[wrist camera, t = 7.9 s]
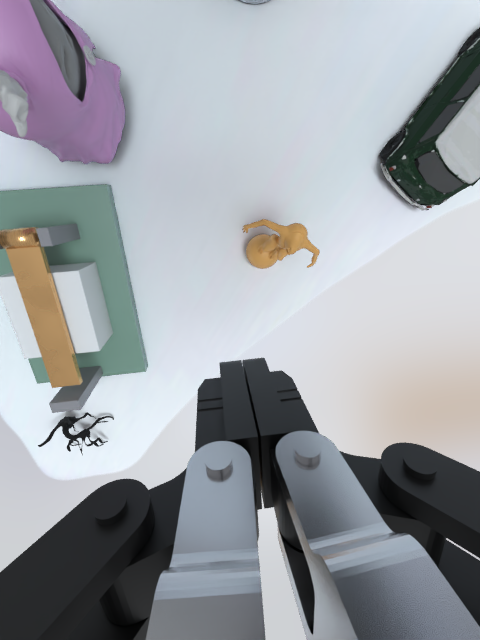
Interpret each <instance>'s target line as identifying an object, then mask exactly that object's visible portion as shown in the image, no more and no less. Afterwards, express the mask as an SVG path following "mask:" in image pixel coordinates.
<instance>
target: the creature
mask: <svg viewBox="0 0 480 640" xmlns="http://www.w3.org/2000/svg"><path fill="white" fill-rule="evenodd" d="M87 415H89V416H91V415H90V414H89V413H86V414H85V415H84V416H83V417H81V418H75V417H64V418H63V419H62V420H60V422H59V423H58V424H57V426H56V427H55V428H54V429H53V430H52V432H51V433H50V435H49V437H48V438H47V439H46V440H45V441H44V442H43V443H42V444H41V445H38V446H39V447H41V446H43V445H45V444H46V443H47V442H49V441H50V440H51V438H52V436H53V434H54V432H55V431H56V430H57V429H58V428H59V427H60V426H62V427H63V429H62V431H63V434H64V435H65V437H67V438H68V439H71V440H69V443H68V445H67V449H68V451H71V450H70V446H69V445H71V443H73V441H77V442H78V445H80V444H79V441H78V440H76V439H77V438H82V444H83V440H84V442H85V438H86V437H88V438H89V437H90V431H89V429H91V428H93V427H94V426H95V425H96V424H97V423H100V422H98V421H100V420H102V419H104V418H107V417H110V418H113V417H111V416H105V417H102V418H98V419H97V420H96V421H95V423H93V424H92V426H91V427H89V428H88V429H84V430H83V431H81V432H80V433H78V434H77V435H71V434H70V433H69V428H71V427H72V426H73V428H74V425H73V424H74V423H75V422H77V421H78V420H80V419H82V418H85V417H86V416H87ZM91 417H94V416H91ZM95 419H96V418H95ZM113 419H114V418H113ZM104 422H108V421H104ZM74 431H75V429H74ZM76 432H77V431H76ZM89 440H90V438H89ZM98 440H99V442H100V443H105V442H102V440H101V439H100V438H97V439H96V440H95V441H91V440H90V442H91V444H89V445H87V444H86V443H85V444H86V445H87V446H91V445H93V444H94V445H95V446H99V445H98V444H97V443H96V442H97V441H98ZM106 442H108V441H106ZM101 445H103V444H101ZM101 445H100V446H101ZM72 446H76V445H72ZM79 447H80V446H79ZM80 450H81V453H82V448H81V449H80ZM82 455H83V454H82Z"/></svg>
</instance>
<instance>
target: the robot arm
mask: <svg viewBox="0 0 480 640" xmlns="http://www.w3.org/2000/svg"><path fill="white" fill-rule="evenodd" d="M240 1H243V2H245V3H252V4H258V3H264V2H267V1H269V0H240ZM220 374H221V378H213V379H205V380H204V381H203V383H202V384H201V386H200V387H199V389H198V403H197V421H196V442H195V443H196V445H195V453H194V454H193V455H192V457H191V458H190V460H189V462H188V465H187V468H186V469H185V470H184V471H183V472H182V473H181V474H180V475H178V476H177V477H175V478H174V479H172V480H170V481H168V482H166V483H164V484H161V485H159V486H157V487H154V488H152V489H150V490H148V489H147V488H146V486H145V485H143V484H142V483H141V482H139V481H137V480H133V479H120V480H116V481H113V482H110V483H107V484H105V485H103V486H101V487H100V488H98V489H97V490H95V491H94V492H93V493H91V494H90V495H89V496H88V497H87V498H86V499H84V500H83V501H82V502H81V503H80V504H79V505H77V507H75V508H74V509H73V510H72V511H71V512H69V513H68V514H67V515H66V516H65V517H64V518H63V519H61V520H60V521H59V522H58V523H57V524H56V525H54V526H53V527H52V528H51V529H50V530H49V531H47V532H46V533H45V534H44V535H43V536H42V537H41V538H39V539H38V540H37V541H36V542H35V543H34V544H32V545H31V546H30V547H29V548H28V549H27V550H26V551H24V552H23V553H22V554H21V555H20V556H19V557H18V558H16V559H15V560H14V561H13V562H12V563H11V564H9V565H8V566H7V567H6V568H5V569H4V570H3V571H1V572H0V640H265V628H264V615H263V605H262V591H261V578H260V566H259V556H258V543H257V542H258V537H259V528H258V514H257V510H258V509H262V503H261V493H262V498H263V503H264V508H271V507H274V509H275V513H276V518H277V522H278V539H279V544H280V548H281V551H282V554H283V558H284V561H285V565H286V568H287V572H288V575H289V579H290V582H291V586H292V589H293V593H294V596H295V600H296V603H297V607H298V610H299V614H300V617H301V620H302V624H303V628H304V631H305V634H306V639H307V640H480V561H479V560H478V559H476V558H474V557H473V556H471V555H470V554H468V553H467V552H465V551H463V550H461V549H460V548H459V547H457V546H455V545H454V544H452V543H451V542H449V541H447V540H446V538H448V539H450V540H451V541H453V542H454V543H456V544H458V545H459V546H461V547H463V548H464V549H466V550H468V551H469V552H471V553H472V554H474V555H476V556H477V557H479V558H480V472H479V471H477V470H475V469H473V468H470V467H468V466H466V465H464V464H462V463H459V462H457V461H455V460H453V459H451V458H449V457H446V456H444V455H442V454H440V453H438V452H435V451H433V450H431V449H429V448H426V447H424V446H421V445H417V444H412V443H396V444H393V445H390V446H388V447H387V448H386V449H385V450H384V451H383V453H382V456H381V459H376V458H368V457H360V456H354V455H350V454H346V453H343V452H341V451H339V450H338V449H337V447H336V446H335V444H334V443H333V442H332V441H331V440H329V439H328V438H327V437H325V436H323V435H321V434H319V432H318V430H317V428H316V426H315V424H314V422H313V420H312V418H311V416H310V414H309V412H308V410H307V408H306V406H305V404H304V402H303V400H302V399H301V395H300V393H299V391H297V387H296V385H295V383H294V381H293V379H292V378H291V377H289V376H288V375H287V374H285V373H284V372H283V371H274V372H270V371H269V369H268V366H267V363H266V361H265V358H257V359H248V360H243V367H242V362H241V360H239V361H230V362H221V363H220Z"/></svg>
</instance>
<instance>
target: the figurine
mask: <svg viewBox="0 0 480 640" xmlns="http://www.w3.org/2000/svg"><path fill="white" fill-rule="evenodd" d="M263 225H265V226H267V227H268V228H270V229H272V230H274V231H276V232H278V233H279V234H280V237H279V236H278V235H276V234H273V235H271V236H269V235H266V234H261V235H257V236H255V237H253V238H252V239H251V240H250V241H249V243H248V245H247V248H246V255H247V258H248V260H249V262H250V263H251V264H252V265H253V266H255V267H257V268H261V269H264V268H269V267H271V266H272V265H274V264H275V263H276V261H277V260H280V261H281V260H282V259H283V258H284V257H285V256H287V255H290V254H294V253H295V252H296V251H298V250H300V249H302V248H306V249H307V250H309V251H310V252H312V253H314V254H313V257H312V263H311V264H310V265H308V266H307V268H308V267H311V266H313V265H314V264H315V262H316V260H317V256H318V255H319V253H320V252H319V250H318V249H317V248H316V247H315V246H314V245H313V244H311V242H310V241H309V240H308V238H307V230H306V228H305V227H304V226H303V225H302V224H299V223H294V224H291V225H289V226H283V225H278V224H276V223H274V222H271V221H269V220H266V219H262V220H260V221H257V222H254V223H251V224H247V225H244V226H243V227H244V228H243V229H242V230H244V231H243V233H244V232H245V231H246V233H247V232H248V228H255V227H258V226H263Z"/></svg>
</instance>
